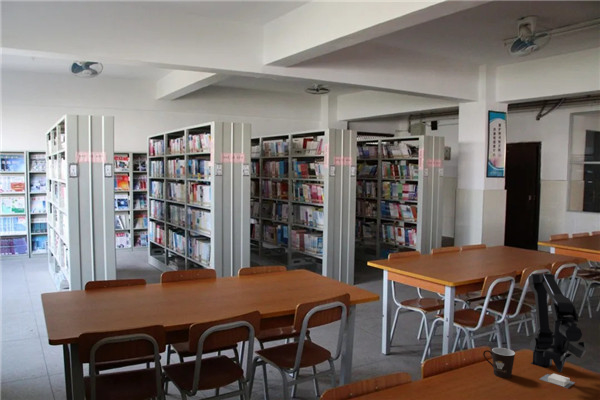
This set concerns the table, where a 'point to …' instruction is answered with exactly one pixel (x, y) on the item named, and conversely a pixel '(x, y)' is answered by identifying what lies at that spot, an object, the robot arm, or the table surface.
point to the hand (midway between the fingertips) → (559, 371)
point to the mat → (545, 378)
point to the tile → (558, 380)
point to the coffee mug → (502, 361)
